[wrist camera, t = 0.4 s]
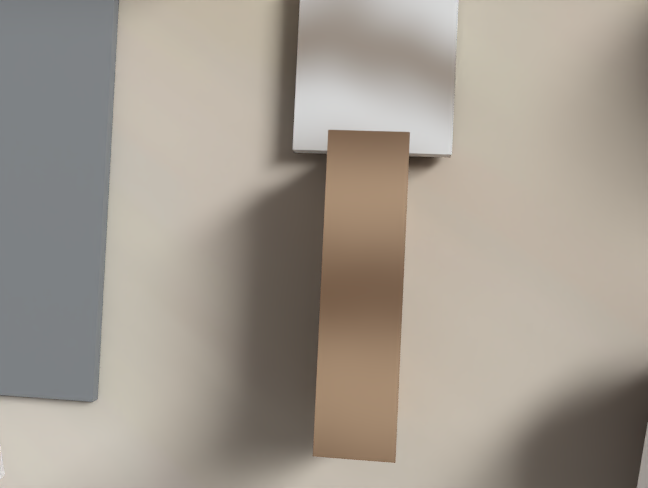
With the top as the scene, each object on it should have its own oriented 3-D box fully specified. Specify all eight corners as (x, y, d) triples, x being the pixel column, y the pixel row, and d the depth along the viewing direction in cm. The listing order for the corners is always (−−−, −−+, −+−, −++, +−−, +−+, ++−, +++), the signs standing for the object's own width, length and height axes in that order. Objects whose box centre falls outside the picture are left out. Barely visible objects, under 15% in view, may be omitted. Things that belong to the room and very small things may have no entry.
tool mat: (97, 399, 30) (92, 401, 29) (-60, 388, 30) (-68, 390, 30) (121, -58, 30) (117, -64, 30) (-34, -58, 31) (-41, -63, 30)
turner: (436, 422, 28) (451, 467, 22) (284, 411, 29) (258, 451, 23) (455, -14, 29) (475, -86, 23) (305, -15, 29) (285, -85, 23)
